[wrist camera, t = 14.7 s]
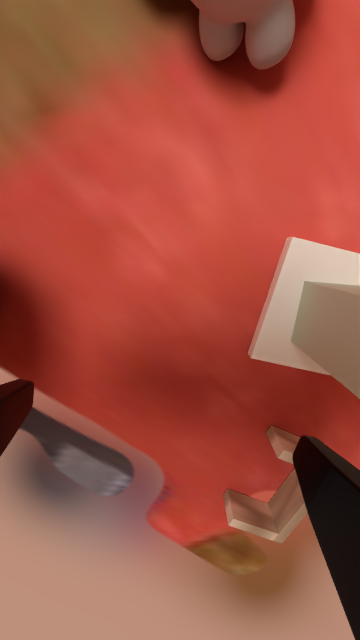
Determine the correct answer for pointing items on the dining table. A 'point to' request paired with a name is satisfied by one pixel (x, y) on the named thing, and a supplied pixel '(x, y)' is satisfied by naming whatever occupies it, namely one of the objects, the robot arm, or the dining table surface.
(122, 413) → the dining table surface
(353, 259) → the ceramic tile
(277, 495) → the birch stall
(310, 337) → the sage block
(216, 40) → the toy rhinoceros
